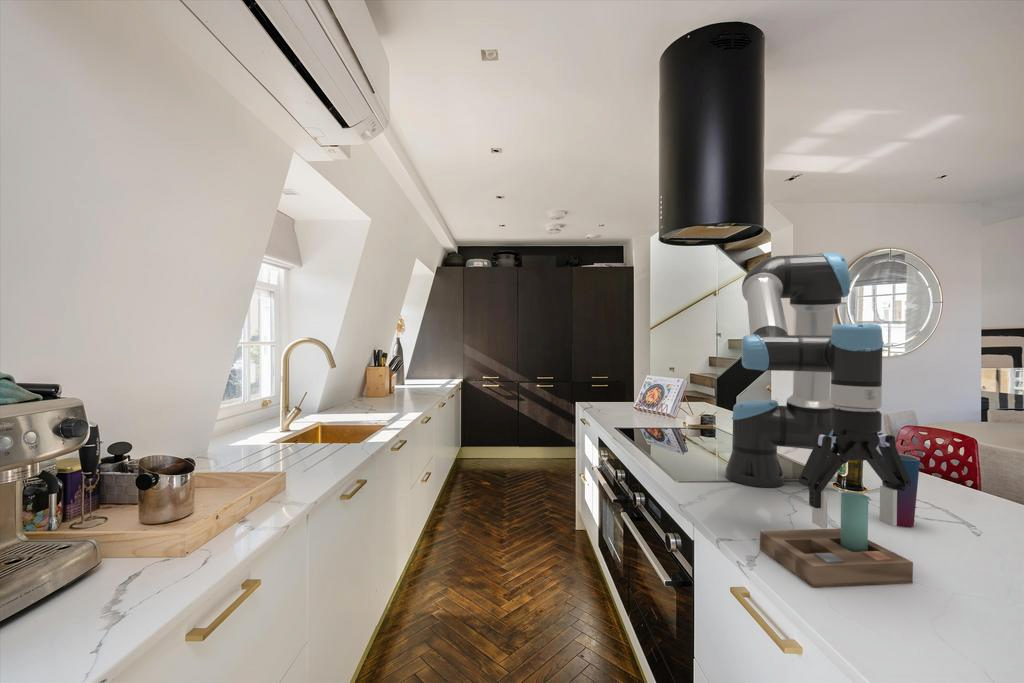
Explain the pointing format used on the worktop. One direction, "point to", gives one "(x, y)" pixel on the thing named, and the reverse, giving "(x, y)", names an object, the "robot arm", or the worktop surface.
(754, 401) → the robot arm
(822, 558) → the socket board
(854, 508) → the plug
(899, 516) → the cup
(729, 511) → the worktop surface
